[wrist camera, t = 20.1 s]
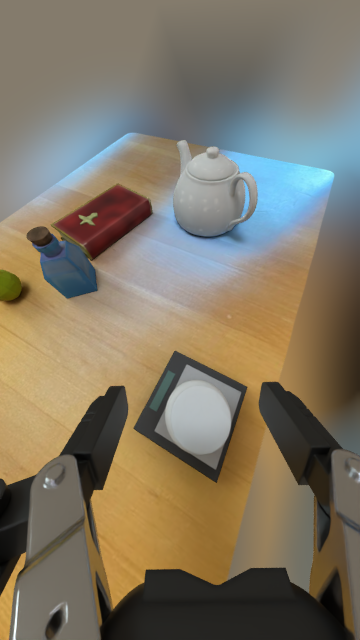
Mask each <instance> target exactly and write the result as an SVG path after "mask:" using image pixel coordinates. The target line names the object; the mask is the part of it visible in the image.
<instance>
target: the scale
mask: <svg viewBox="0 0 360 640" xmlns="http://www.w3.org/2000/svg"><path fill="white" fill-rule="evenodd" d="M190 380H203V381H206V382H209V383H211V384H213V385H214V386H215V387H217V388H218V389H219V390H220V391H221V392H222V394H223V395H224V396H225V398H226V400H227V402H228V405H229V408H230V412H231V428H230V433H229V436H228V438H227V440H226V441H225V443H224V444H223V445H222V447H221V448H219V449H218V450H217V451H215V452H213V453H210V454H206V455H194V454H190V453H188V452H186V451H184V450H183V449H181V448H180V447H179V446H178V445H177V444H176V443H175V442H174V441H173V439H172V438H171V436H170V434H169V432H168V430H167V426H166V421H165V410H166V405H167V402H168V399H169V397H170V395H171V394H172V392H173V391H174V390H175V389H176V388H177V387H178V386H179V385H181V384H182V383H184V382H186V381H190ZM246 390H247V386H245V385H243V384H241V383H239V382H237V381H235V380H233V379H231V378H229V377H227V376H225V375H223V374H221V373H219V372H217V371H215V370H213V369H211V368H209V367H207V366H205V365H203V364H201V363H199V362H197V361H195V360H193V359H191V358H189V357H187V356H185V355H183V354H181V353H179V352H177V351H174V353H173V355H172V357H171V359H170V361H169V363H168V364H167V366H166V368H165V370H164V372H163V374H162V376H161V378H160V379H159V381H158V383H157V385H156V387H155V389H154V391H153V393H152V395H151V396H150V398H149V400H148V402H147V404H146V406H145V408H144V410H143V411H142V413H141V415H140V417H139V419H138V421H137V423H136V425H135V426H134V429H135V430H136V431H138V432H139V433H141V434H142V435H144V436H145V437H147V438H149V439H150V440H152V441H153V442H155V443H156V444H158V445H159V446H161V447H162V448H164V449H165V450H167V451H168V452H170V453H172V454H173V455H175V456H176V457H178V458H179V459H181V460H182V461H184V462H185V463H187V464H188V465H190V466H191V467H193V468H195V469H196V470H198V471H199V472H201V473H202V474H204V475H205V476H207V477H208V478H210V479H211V480H213V481H214V482H216V483H217V480H218V477H219V474H220V471H221V468H222V464H223V461H224V458H225V455H226V452H227V449H228V446H229V443H230V440H231V436H232V433H233V430H234V427H235V424H236V421H237V418H238V415H239V411H240V408H241V405H242V402H243V399H244V396H245V393H246Z"/></svg>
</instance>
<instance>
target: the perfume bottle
mask: <svg viewBox="0 0 360 640" xmlns="http://www.w3.org/2000/svg"><path fill="white" fill-rule="evenodd" d="M27 239H28V240H30V241H31V242H32V245H33V246H34V247H35V248H36V249H37V250H38V251H39V252H41V259H40V263H41V267H42V271H43V275H44V279H45V280H46V281H47V282H48V283H50V284H51V285H52V286H53V287H54V288H55V289H57V290H58V291H59V292H60V293H61V294H62V295H64V296H65V297H66V298H71V297H75V296H79V295H83V294H86V293H90V292H94V291H97V283H96V276H95V269H94V267H93V266H92V264H91V263H90V262H89V260H88V259H87V257H86V256H85V254H84V253H83V251H82V250H81V248H80V247H79V246H77V245H74V244H72V243H70V242H67V241H61V242H59V241H58V240H57V238H56V237H55V236H54V235H53V234H51V233H50V232H49V230H48V229H47V228H46V227H36V228H34V229H32V230H30V231H29V232H28V233H27Z"/></svg>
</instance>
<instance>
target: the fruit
mask: <svg viewBox="0 0 360 640" xmlns="http://www.w3.org/2000/svg"><path fill="white" fill-rule="evenodd" d="M21 290H22V286H21V281H20V279H19V278H18V277H17V276H16V275H14V274H12V273H10V272H8V271H5V270H0V301H7V300H13V299H15V298H17V297H18V296H19V295H20V292H21Z"/></svg>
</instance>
